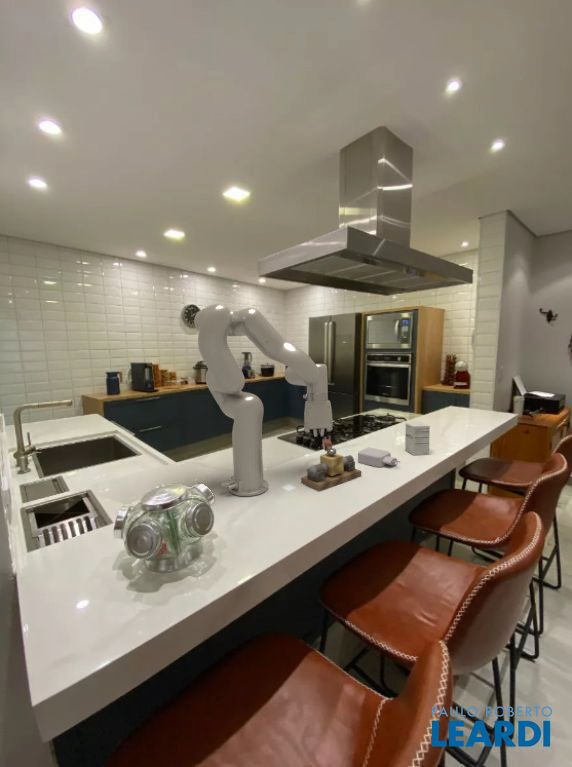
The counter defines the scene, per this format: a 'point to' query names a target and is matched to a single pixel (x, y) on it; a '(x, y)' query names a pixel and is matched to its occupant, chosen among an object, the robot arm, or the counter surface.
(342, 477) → the pipe board
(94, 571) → the counter surface
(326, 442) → the valve lever
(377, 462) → the charger
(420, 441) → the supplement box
